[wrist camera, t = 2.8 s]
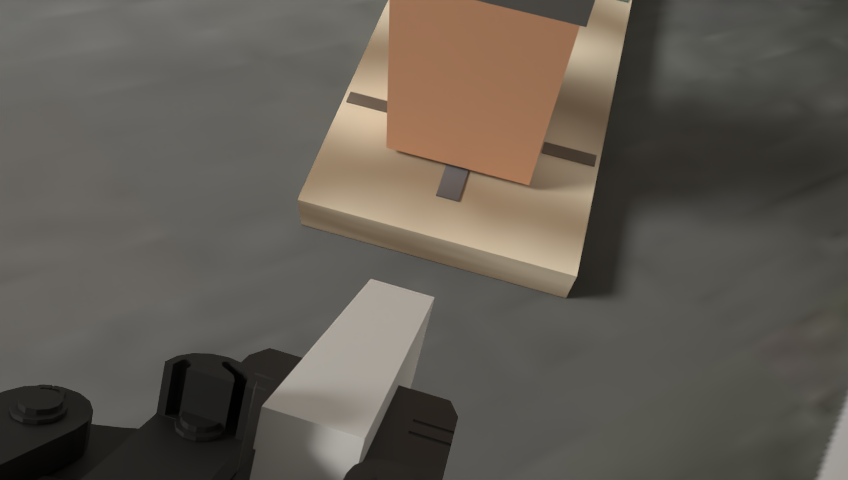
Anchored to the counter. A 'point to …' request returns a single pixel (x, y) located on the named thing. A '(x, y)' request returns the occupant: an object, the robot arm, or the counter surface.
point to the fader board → (472, 174)
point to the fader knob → (478, 79)
